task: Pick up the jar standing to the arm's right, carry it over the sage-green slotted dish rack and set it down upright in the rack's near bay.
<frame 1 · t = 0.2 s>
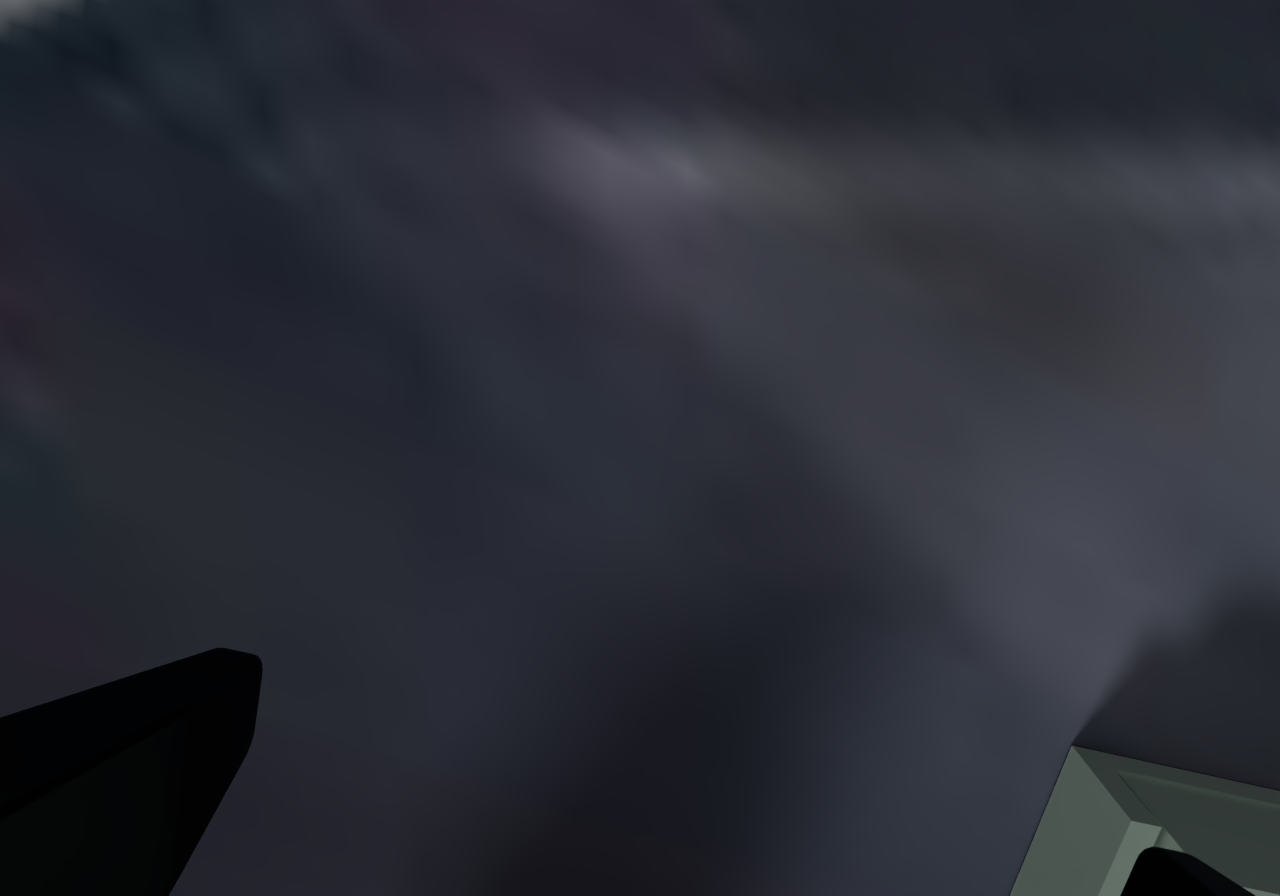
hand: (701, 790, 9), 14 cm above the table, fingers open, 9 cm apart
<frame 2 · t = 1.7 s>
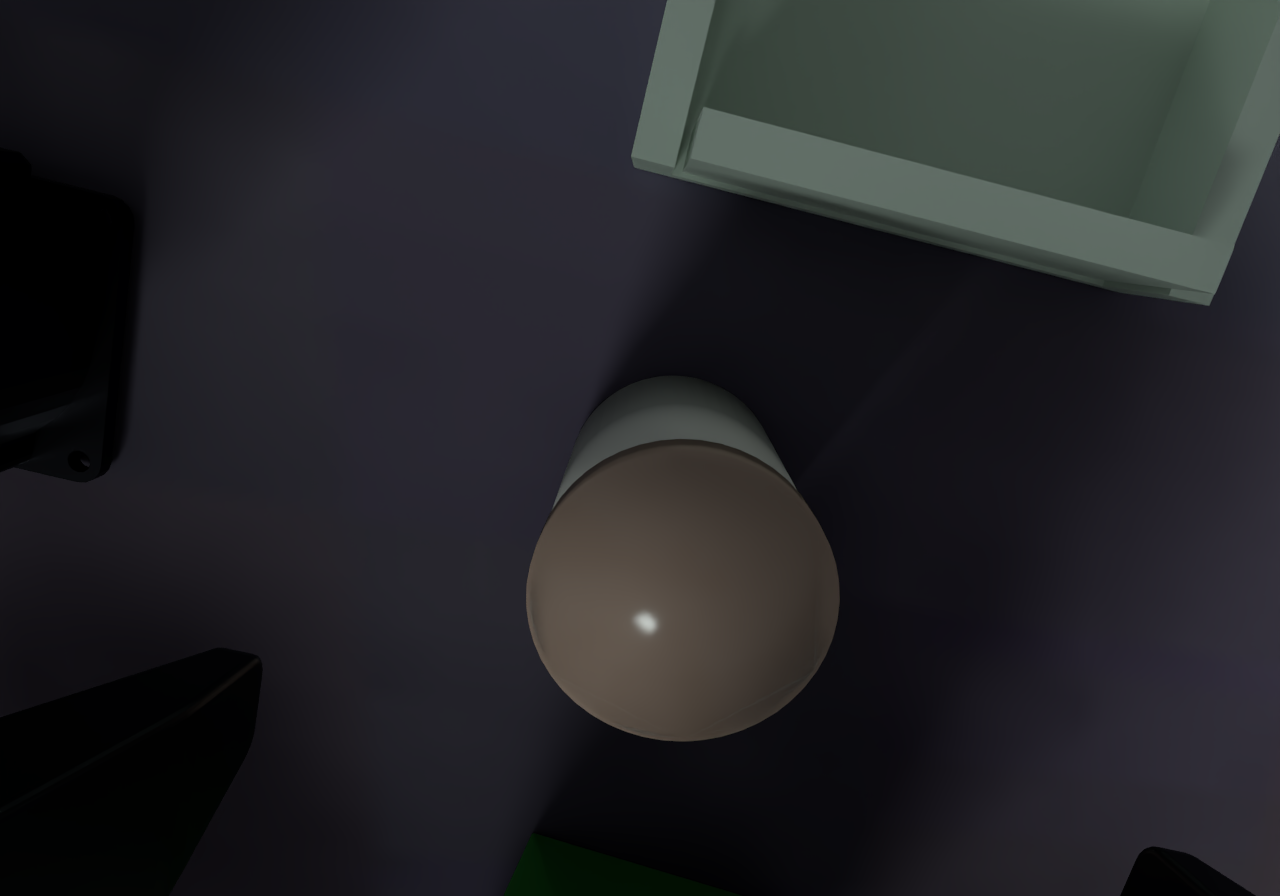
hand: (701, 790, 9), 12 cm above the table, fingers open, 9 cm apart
jar: (672, 476, 20), on the table
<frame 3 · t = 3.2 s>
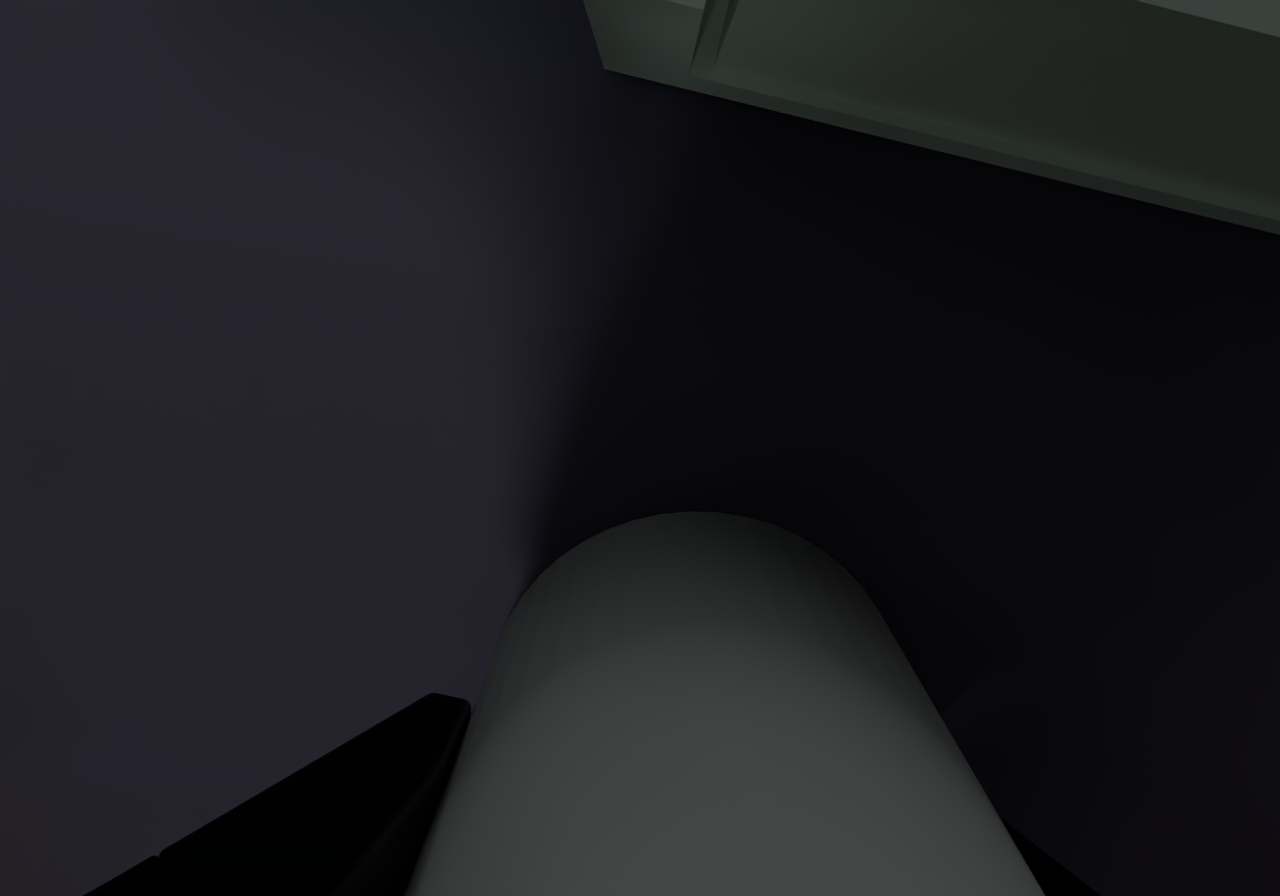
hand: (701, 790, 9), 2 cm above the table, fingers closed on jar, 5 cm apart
jar: (693, 707, 10), on the table, touching gripper
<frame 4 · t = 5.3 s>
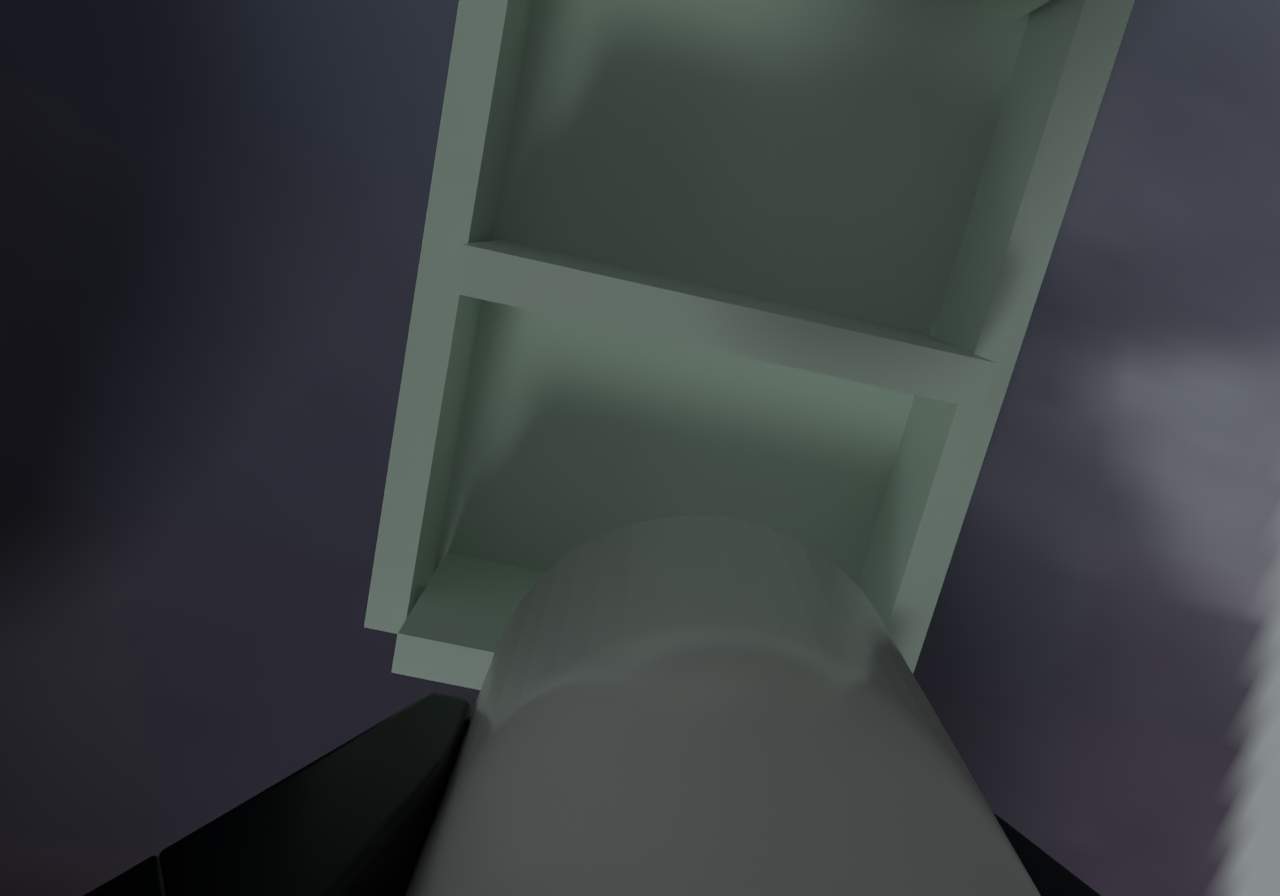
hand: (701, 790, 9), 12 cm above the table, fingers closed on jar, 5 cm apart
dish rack: (707, 303, 19), on the table
jar: (693, 710, 10), point 10 cm above the table, touching gripper
when the fingers open (4 cm above the table, at t = 7.1 s): jar drops 1 cm, resting on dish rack.
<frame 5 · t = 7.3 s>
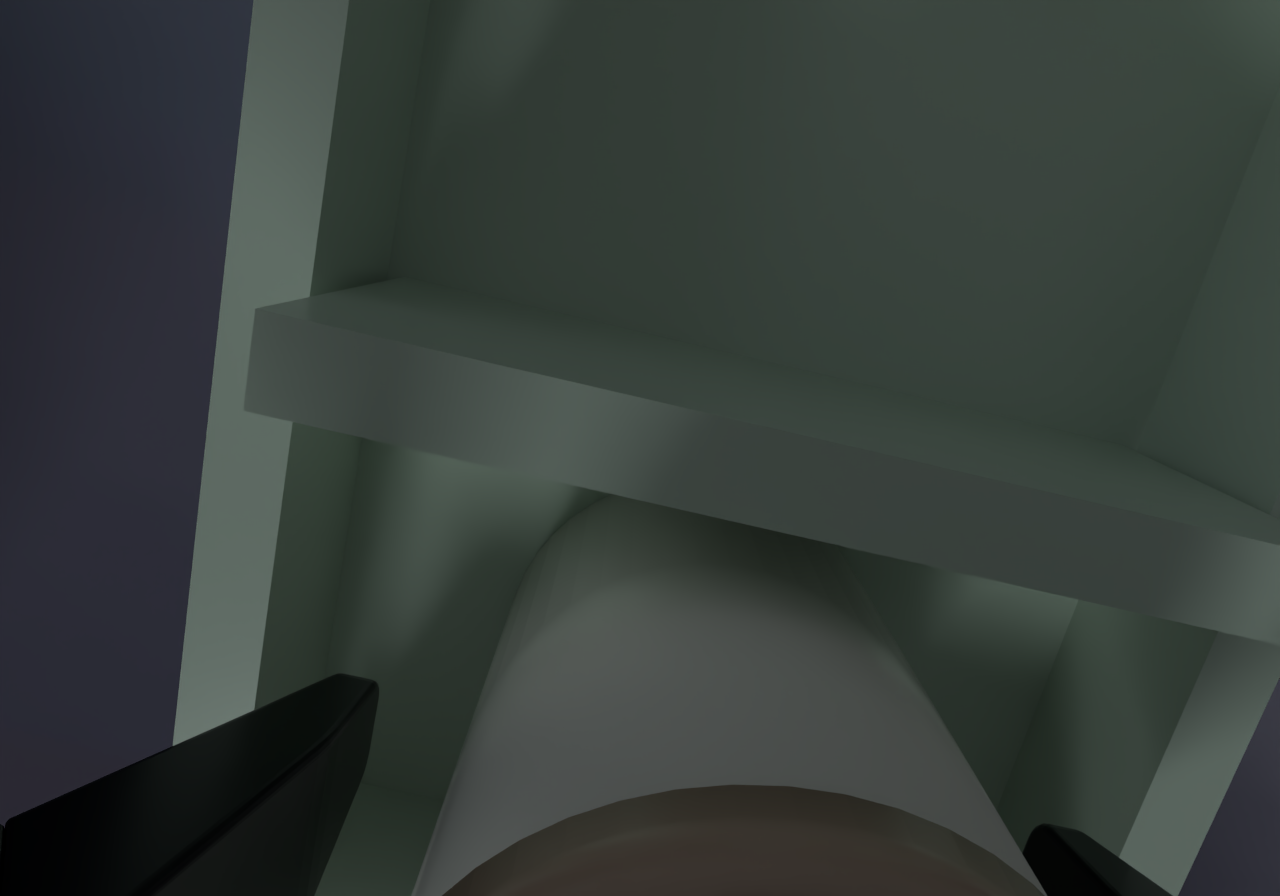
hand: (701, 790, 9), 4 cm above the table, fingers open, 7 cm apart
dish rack: (753, 382, 11), on the table
jar: (688, 651, 11), point 1 cm above the table, touching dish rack
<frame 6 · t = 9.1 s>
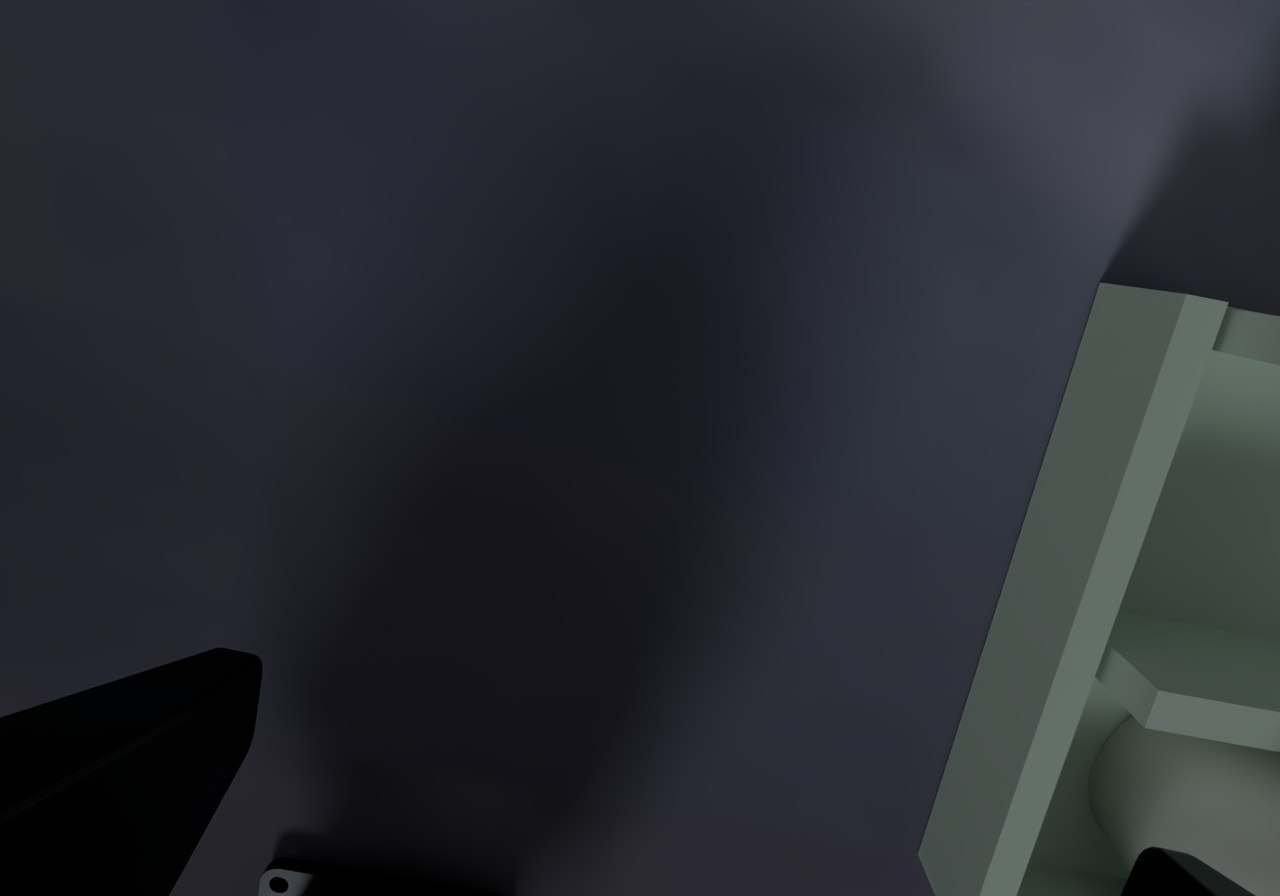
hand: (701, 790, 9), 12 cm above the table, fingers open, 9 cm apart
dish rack: (1220, 634, 21), on the table
jar: (1188, 780, 21), point 1 cm above the table, touching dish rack
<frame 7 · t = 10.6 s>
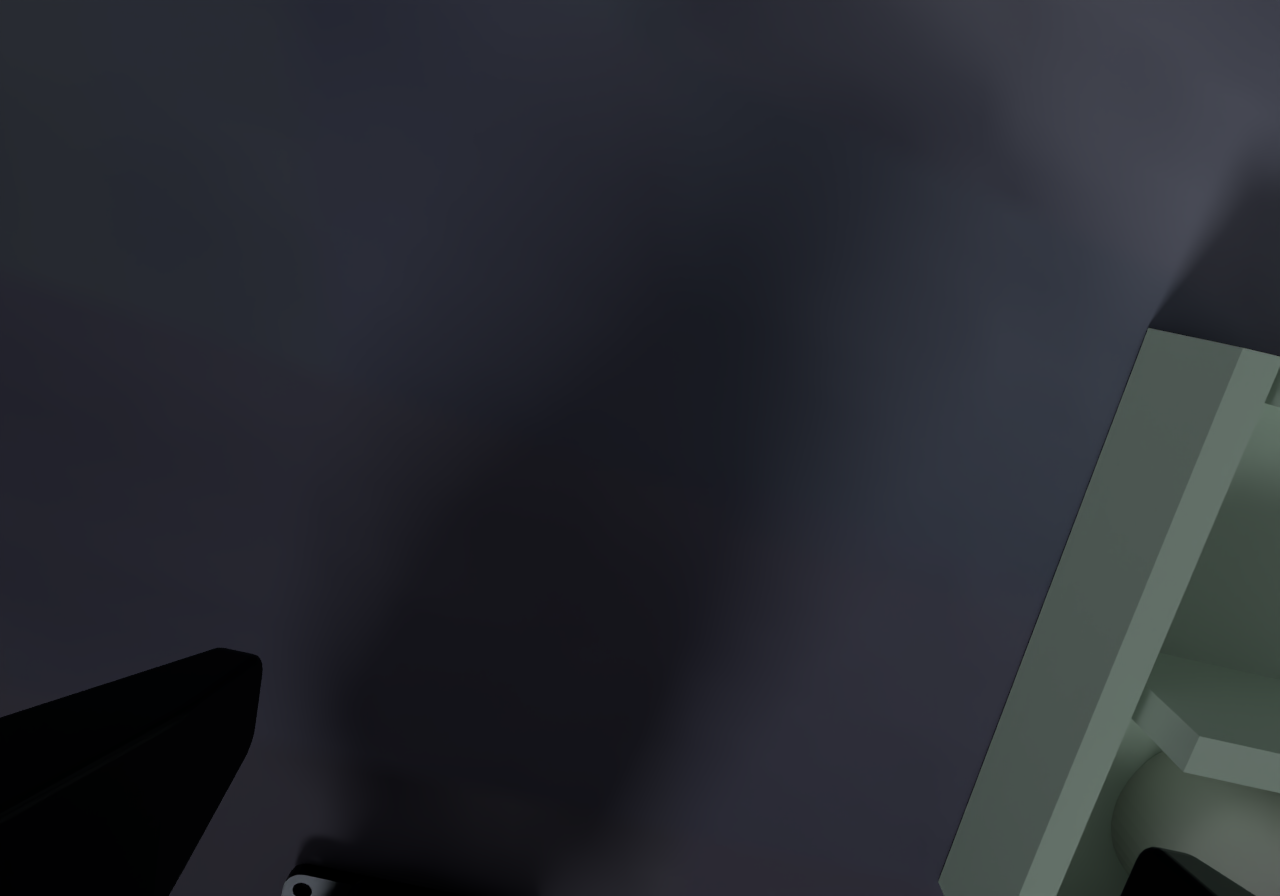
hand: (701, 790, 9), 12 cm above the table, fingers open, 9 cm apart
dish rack: (1247, 676, 21), on the table
jar: (1210, 820, 21), point 1 cm above the table, touching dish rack
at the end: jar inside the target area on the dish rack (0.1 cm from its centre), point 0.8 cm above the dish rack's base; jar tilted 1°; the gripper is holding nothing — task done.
